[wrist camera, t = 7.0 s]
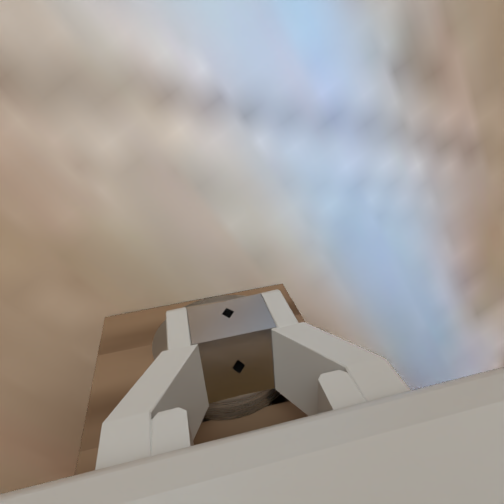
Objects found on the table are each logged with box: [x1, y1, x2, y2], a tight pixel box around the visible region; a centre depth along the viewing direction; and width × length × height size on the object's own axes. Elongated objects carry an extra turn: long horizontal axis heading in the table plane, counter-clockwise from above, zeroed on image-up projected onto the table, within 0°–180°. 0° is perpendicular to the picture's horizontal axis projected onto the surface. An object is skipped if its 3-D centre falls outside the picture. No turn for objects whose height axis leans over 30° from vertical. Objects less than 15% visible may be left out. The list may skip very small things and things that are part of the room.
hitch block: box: [75, 284, 308, 475], centre depth 14 cm, size 10×7×7 cm
